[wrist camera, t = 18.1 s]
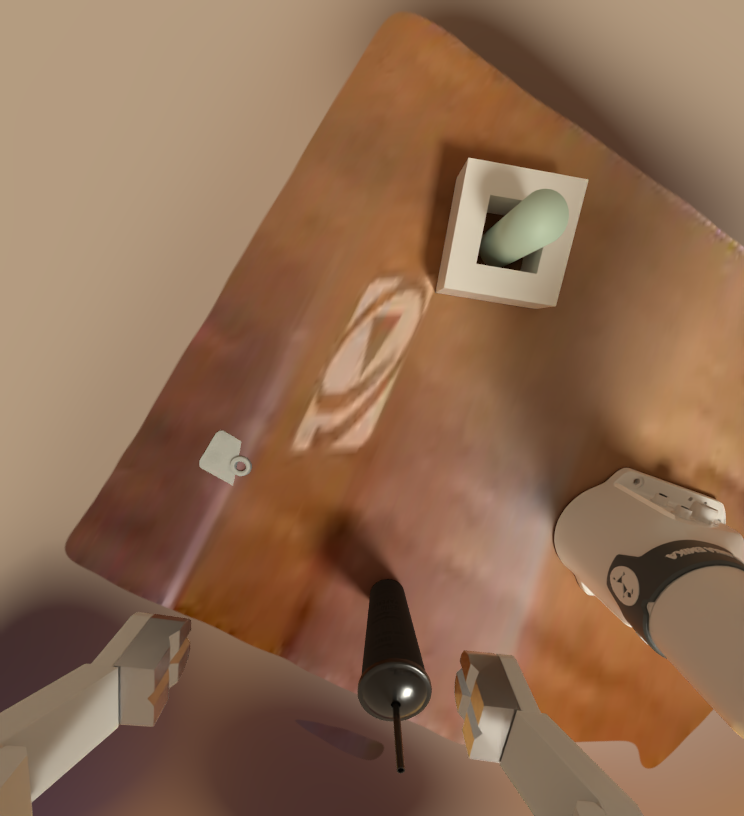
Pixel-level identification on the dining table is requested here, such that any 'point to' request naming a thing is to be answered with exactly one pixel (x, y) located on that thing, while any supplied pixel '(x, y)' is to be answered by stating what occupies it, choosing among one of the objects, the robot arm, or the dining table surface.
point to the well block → (498, 194)
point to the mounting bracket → (224, 457)
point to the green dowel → (525, 228)
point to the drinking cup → (392, 663)
